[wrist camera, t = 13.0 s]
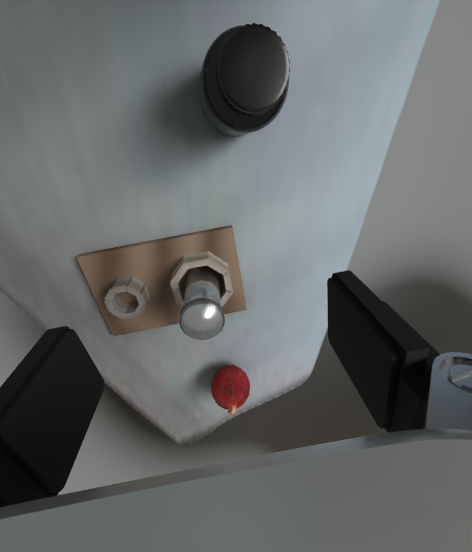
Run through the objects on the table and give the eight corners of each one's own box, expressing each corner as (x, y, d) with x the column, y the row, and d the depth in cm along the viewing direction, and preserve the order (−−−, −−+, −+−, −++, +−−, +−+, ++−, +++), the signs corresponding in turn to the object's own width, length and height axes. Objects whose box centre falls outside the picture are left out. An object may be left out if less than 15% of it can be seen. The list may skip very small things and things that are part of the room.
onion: (209, 355, 42) (211, 397, 35) (246, 353, 43) (255, 394, 36) (210, 382, 45) (212, 428, 37) (245, 380, 45) (253, 424, 38)
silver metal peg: (215, 260, 34) (220, 299, 25) (222, 289, 36) (228, 336, 27) (181, 266, 34) (173, 308, 25) (190, 296, 36) (185, 345, 27)
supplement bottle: (217, 147, 30) (224, 146, 19) (189, 76, 27) (179, 29, 16) (275, 120, 29) (316, 105, 19) (253, 46, 26) (287, -24, 16)
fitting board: (231, 225, 34) (234, 233, 31) (245, 305, 39) (249, 319, 36) (79, 254, 33) (66, 265, 30) (114, 331, 39) (106, 348, 35)
